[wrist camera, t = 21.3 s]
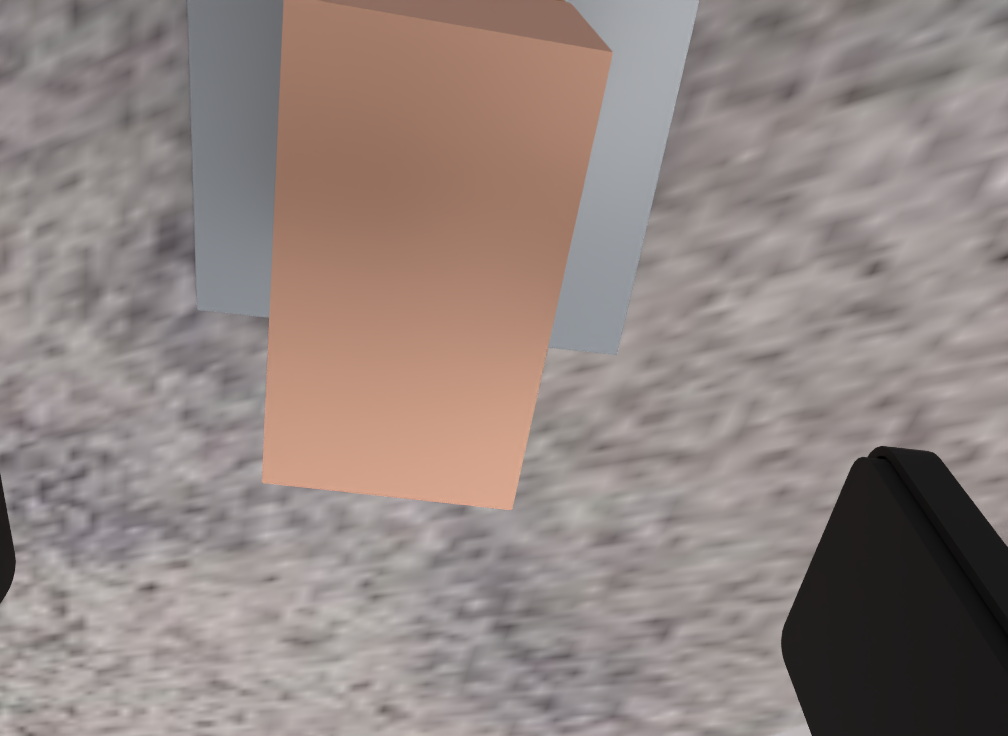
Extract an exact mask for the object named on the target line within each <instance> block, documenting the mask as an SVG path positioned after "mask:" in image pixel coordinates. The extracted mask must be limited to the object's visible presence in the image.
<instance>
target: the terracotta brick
mask: <svg viewBox="0 0 1008 736" xmlns="http://www.w3.org/2000/svg"><path fill="white" fill-rule="evenodd" d="M612 56H613V52H612V50H611V49H610V48H609V47H608V46H607V45H606V43H605V42H604V41H603V40H602V39H601V38H600V36H599V35H598V34H597V33H596V32H595V30H594V29H593V28H592V27H591V26H590V25H589V23H588V22H587V21H586V20H585V19H584V18H583V16H582V15H581V14H580V13H579V12H578V11H577V9H576V8H575V7H574V6H573V5H572V4H571V3H568V2H563V1H557V0H284V2H283V25H282V47H281V69H280V92H279V114H278V136H277V158H276V181H275V203H274V225H273V248H272V270H271V292H270V315H269V337H268V359H267V382H266V404H265V426H264V449H263V471H262V483H268V484H277V485H286V486H296V487H305V488H314V489H323V490H332V491H341V492H350V493H359V494H369V495H378V496H387V497H396V498H405V499H414V500H423V501H432V502H442V503H451V504H460V505H469V506H478V507H487V508H496V509H505V510H512V508H513V504H514V499H515V494H516V490H517V485H518V481H519V476H520V472H521V467H522V463H523V458H524V454H525V449H526V445H527V440H528V436H529V431H530V427H531V422H532V418H533V413H534V409H535V404H536V399H537V395H538V390H539V386H540V381H541V377H542V372H543V368H544V363H545V359H546V354H547V350H548V345H549V341H550V336H551V332H552V327H553V323H554V318H555V314H556V309H557V305H558V300H559V295H560V291H561V286H562V282H563V277H564V273H565V268H566V264H567V259H568V255H569V250H570V246H571V241H572V237H573V232H574V228H575V223H576V219H577V214H578V210H579V205H580V200H581V196H582V191H583V187H584V182H585V178H586V173H587V169H588V164H589V160H590V155H591V151H592V146H593V142H594V137H595V133H596V128H597V124H598V119H599V115H600V110H601V106H602V101H603V96H604V92H605V87H606V83H607V78H608V74H609V69H610V65H611V60H612Z"/></svg>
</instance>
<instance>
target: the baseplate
mask: <svg viewBox="0 0 1008 736" xmlns="http://www.w3.org/2000/svg"><path fill="white" fill-rule="evenodd" d="M699 1H700V0H565V2H568V3H571V4H572V5H573V6H574V7H575V8H576V9H577V11H578V12H579V13H580V14H581V15H582V16H583V18H584V19H585V20H586V21H587V22H588V23H589V25H590V26H591V27H592V28H593V29H594V30H595V32H596V33H597V34H598V35H599V36H600V38H601V39H602V40H603V41H604V42H605V43H606V45H607V46H608V47H609V48H610V49H611V50H612V52H613V56H612V60H611V65H610V69H609V74H608V78H607V83H606V87H605V92H604V96H603V101H602V106H601V110H600V115H599V119H598V124H597V128H596V133H595V137H594V142H593V146H592V151H591V155H590V160H589V164H588V169H587V173H586V178H585V182H584V187H583V191H582V196H581V200H580V205H579V210H578V214H577V219H576V223H575V228H574V232H573V237H572V241H571V246H570V250H569V255H568V259H567V264H566V268H565V273H564V277H563V282H562V286H561V291H560V295H559V300H558V305H557V309H556V314H555V318H554V323H553V327H552V332H551V336H550V341H549V345H548V348H557V349H566V350H575V351H585V352H594V353H603V354H613V355H617V352H618V348H619V343H620V339H621V335H622V330H623V326H624V322H625V318H626V313H627V309H628V305H629V300H630V296H631V292H632V288H633V283H634V279H635V275H636V271H637V266H638V262H639V258H640V253H641V249H642V245H643V241H644V236H645V232H646V228H647V223H648V219H649V215H650V211H651V206H652V202H653V198H654V193H655V189H656V185H657V181H658V176H659V172H660V168H661V163H662V159H663V155H664V151H665V146H666V142H667V138H668V134H669V129H670V125H671V121H672V116H673V112H674V108H675V104H676V99H677V95H678V91H679V86H680V82H681V78H682V74H683V69H684V65H685V61H686V56H687V52H688V48H689V44H690V39H691V35H692V31H693V26H694V22H695V18H696V14H697V9H698V5H699ZM283 2H284V0H187V13H188V44H189V76H190V107H191V138H192V170H193V201H194V233H195V264H196V296H197V310H202V311H212V312H221V313H230V314H240V315H249V316H258V317H268V318H269V315H270V292H271V270H272V248H273V225H274V203H275V181H276V158H277V136H278V114H279V92H280V69H281V47H282V25H283Z"/></svg>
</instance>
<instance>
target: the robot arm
mask: <svg viewBox="0 0 1008 736" xmlns="http://www.w3.org/2000/svg"><path fill="white" fill-rule="evenodd" d="M15 564H16V560H15V552H14V546H13V541H12V535H11V530H10V524H9V519H8V513H7V508H6V503H5V497H4V492H3V486H2V481H1V475H0V603H1V602H2V600H3V599H4V597H5V596H6V594H7V592H8V590H9V588H10V586H11V583H12V581H13V577H14V573H15ZM781 648H782V655H783V659H784V662H785V665H786V668H787V670H788V673H789V676H790V678H791V681H792V684H793V686H794V689H795V692H796V694H797V697H798V700H799V702H800V705H801V708H802V710H803V713H804V716H805V718H806V721H807V724H808V726H809V729H810V732H811V734H812V736H1008V547H1007V546H1006V544H1005V543H1004V542H1003V541H1002V539H1001V538H1000V537H999V535H998V534H997V533H996V531H995V530H994V529H993V527H992V526H991V525H990V523H989V522H988V521H987V519H986V518H985V517H984V516H983V514H982V513H981V512H980V510H979V509H978V508H977V506H976V505H975V504H974V502H973V501H972V500H971V498H970V497H969V496H968V494H967V493H966V492H965V491H964V489H963V488H962V487H961V485H960V484H959V483H958V481H957V480H956V479H955V477H954V476H953V475H952V473H951V472H950V471H949V469H948V468H947V467H946V466H945V464H944V463H943V462H942V460H941V459H940V458H939V457H938V456H937V455H936V454H935V453H933V452H929V451H923V450H914V449H905V448H896V447H887V446H880V447H877V448H875V449H874V450H873V451H872V452H871V453H870V454H869V456H868V457H861V458H858V459H857V460H856V461H855V462H854V464H853V465H852V467H851V469H850V472H849V474H848V476H847V479H846V481H845V483H844V486H843V488H842V490H841V493H840V495H839V497H838V500H837V502H836V504H835V507H834V509H833V512H832V514H831V516H830V519H829V521H828V523H827V526H826V528H825V530H824V533H823V535H822V537H821V540H820V542H819V544H818V547H817V549H816V551H815V554H814V556H813V559H812V561H811V563H810V566H809V568H808V570H807V573H806V575H805V577H804V580H803V582H802V584H801V587H800V589H799V591H798V594H797V596H796V598H795V601H794V603H793V606H792V608H791V610H790V613H789V615H788V617H787V620H786V622H785V624H784V627H783V631H782V638H781Z"/></svg>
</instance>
